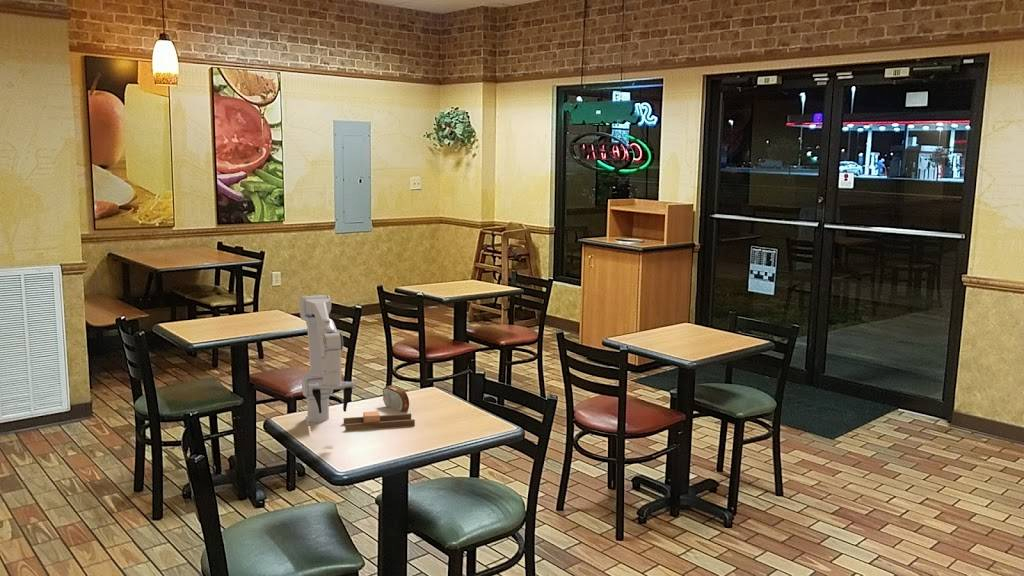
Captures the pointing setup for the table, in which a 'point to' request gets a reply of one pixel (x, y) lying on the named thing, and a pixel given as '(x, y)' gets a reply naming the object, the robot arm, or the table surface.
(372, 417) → the block
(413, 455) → the table surface
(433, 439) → the table surface
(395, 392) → the tin
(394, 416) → the chute
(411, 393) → the table surface
